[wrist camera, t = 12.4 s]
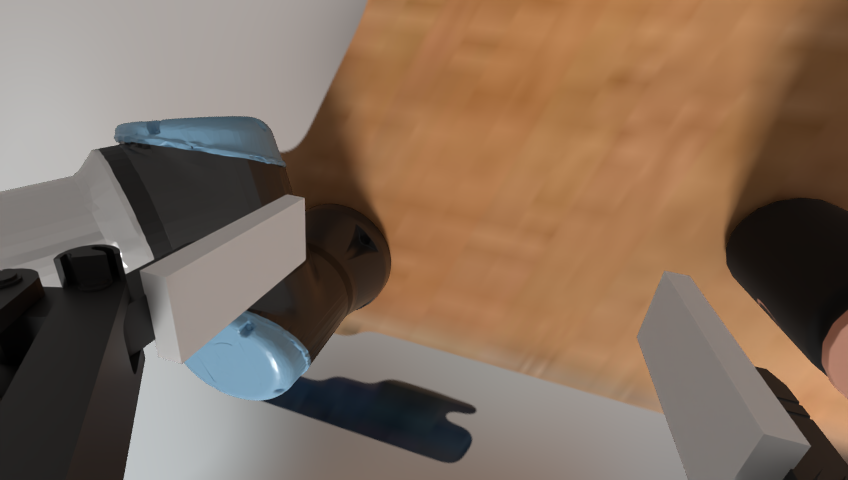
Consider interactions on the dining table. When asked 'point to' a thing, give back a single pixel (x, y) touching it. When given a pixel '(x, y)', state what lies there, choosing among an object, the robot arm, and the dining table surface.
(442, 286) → the dining table surface
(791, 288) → the coffee jar
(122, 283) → the robot arm
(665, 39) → the dining table surface
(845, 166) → the dining table surface
